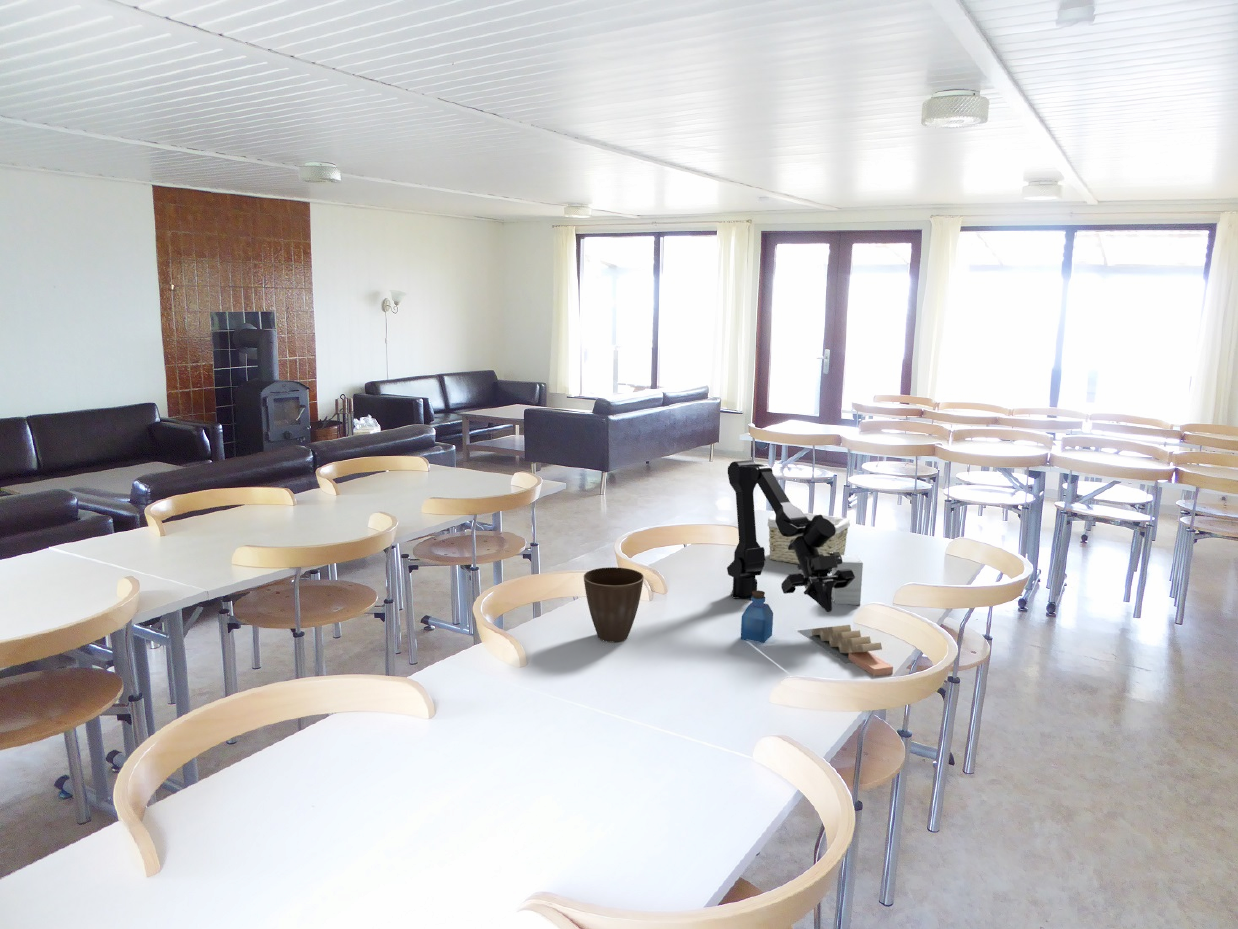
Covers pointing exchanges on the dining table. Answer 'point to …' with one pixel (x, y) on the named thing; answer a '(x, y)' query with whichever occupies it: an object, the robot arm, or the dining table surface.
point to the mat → (826, 645)
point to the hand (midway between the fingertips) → (829, 611)
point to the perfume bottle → (757, 619)
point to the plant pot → (613, 600)
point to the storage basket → (782, 542)
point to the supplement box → (853, 590)
